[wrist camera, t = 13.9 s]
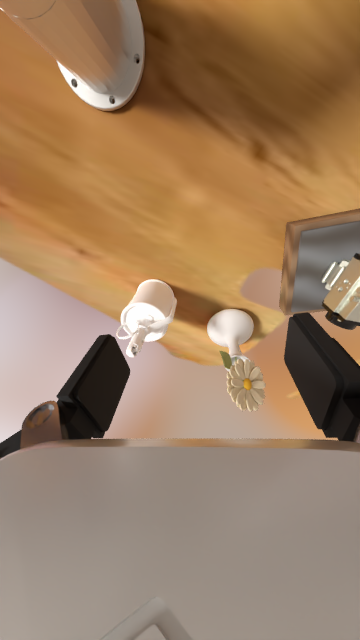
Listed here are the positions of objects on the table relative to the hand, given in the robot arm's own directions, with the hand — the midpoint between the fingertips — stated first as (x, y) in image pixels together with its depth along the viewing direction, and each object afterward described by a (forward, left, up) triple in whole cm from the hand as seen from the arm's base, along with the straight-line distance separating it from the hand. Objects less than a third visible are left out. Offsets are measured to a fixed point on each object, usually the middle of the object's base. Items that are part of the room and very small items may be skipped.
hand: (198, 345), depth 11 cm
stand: (+10, +22, -33) cm, 41 cm away
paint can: (+12, -12, -34) cm, 38 cm away
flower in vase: (+22, +4, -34) cm, 40 cm away
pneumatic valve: (+10, +23, -29) cm, 38 cm away
